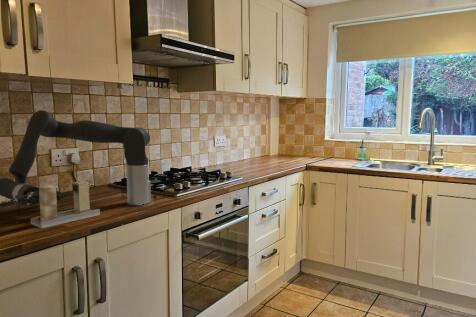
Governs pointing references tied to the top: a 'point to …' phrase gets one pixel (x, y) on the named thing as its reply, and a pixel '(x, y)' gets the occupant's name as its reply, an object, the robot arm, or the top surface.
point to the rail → (77, 213)
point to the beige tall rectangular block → (48, 202)
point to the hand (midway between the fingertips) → (48, 199)
